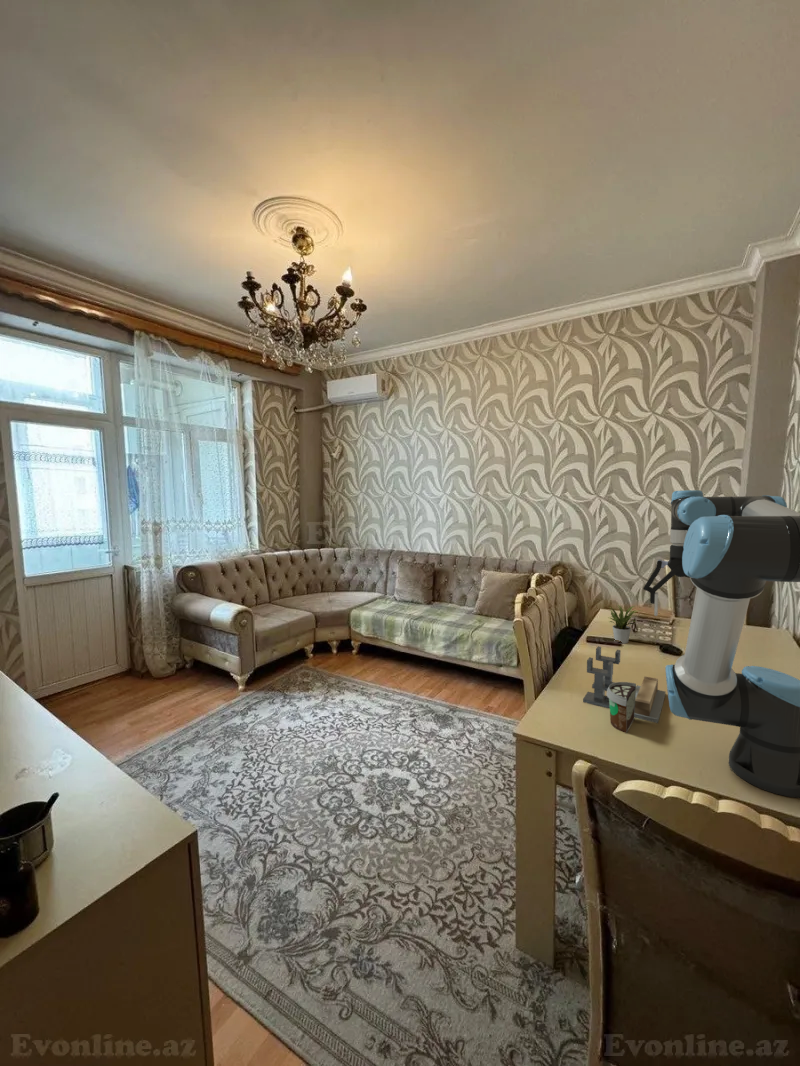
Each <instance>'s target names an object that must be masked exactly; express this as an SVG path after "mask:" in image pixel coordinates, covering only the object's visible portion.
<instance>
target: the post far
mask: <svg viewBox="0 0 800 1066" xmlns="http://www.w3.org/2000/svg"><path fill="white" fill-rule="evenodd" d="M614 654H615V655H614V657H610V656H605V655H602V646H599V645H598V646H596V648H595V661H599V662H602V669H603V670H608V663H609V661H611V662H613V665H620V663H621V650H620V649H616V651H615V652H614ZM612 683H616V682H615V681H613V676H612V677H606V676H605V692H607V689H608V687H609V685H610V684H612ZM591 688H592V689H594V682H593V683H592V685H591Z"/></svg>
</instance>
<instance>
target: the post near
mask: <svg viewBox="0 0 800 1066" xmlns="http://www.w3.org/2000/svg"><path fill="white" fill-rule="evenodd" d="M593 661H594V658H593V657H590V656H589V657H588V658H587V661H586V673H589V674H593V675H594V678H593V679H594V680H593V681H594V682H593V683H594V688H593V691H594V692H591V691H587V692H586V694H585V695H584V697H583V699H582V703H586V704H589V705H594V706H598V707H602V708H606V709H609V710H610V704H609V698H608V697H607V695H606V694H605V693H606V691H605V676H606V677H612V678H613V676H614V664H613V662H611V661H609V663H608V670H603V668H597V667H593V666H594V665H593V664H594V663H593Z"/></svg>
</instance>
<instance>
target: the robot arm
mask: <svg viewBox="0 0 800 1066" xmlns="http://www.w3.org/2000/svg"><path fill="white" fill-rule="evenodd" d="M670 505H671V506H670V509H671V510H670V511H671V513H670V532H669V533H670V534H669V537H670V539H669V543H671V545H670V546H669V559H668V560H667V561H666V560H662V559H658V560H657V562H656V567H655V569H654V570H653V572H652V573H651V574H650V576H649V578H648V580H647V582H645V585H644V586H643V591H647V592H649V593H650V594H649V596H650V597H649V598H650V600H649V602H650V603H649V604H653V605H654V608H653V610H654V611H653V613H654V614H653V615H654V616H656V617H658V614H659V613H658V612H659V610H658V609H659V592H657V591H658V590H659V589H660V588H661V587H662V586H664V585H665V584H666V583H667V582H668V581H670V579H672V578H673V577H674V576H676V577H679V578H689V580H690V582H691V583H692V584H693V586H694V587H696V591H695V596H694V602H693V605H692V606H693V607H692V612H691V618H690V623H689V624H690V625H689V628H688V634H687V639H686V645H685V646H686V647H685V652H684V654H683V655H681V656H679V657H678V658H677V659H676V661H675V663H674V664H667V665H665V679H666V680H665V681H666V689H667V698H668V705H669V709H670V712H671V713H672V714H673V715H674V716H676V717H680V718H684V719H688V720H690V721H692V720H693V721H699V722H700V721H701V722H706V723H713V724H719V725H720V724H721V725H726V726H733V727H737V728H738V727H739V734H738V736H737V737H736V739H735V741H734V744H733V745H732V747H731V748H730V751H729V754H728V766H729V768H730V769H731V771H732V772H733V773H734V774H736V776H737V777H739V778H741V779H742V780H743V781H745V782H746V783H748V784H750V785H752V786H754V787H756V788H759V789H761V790H764V791H765V792H769V793H772V794H776V795H778V796H779V795H780V796H785V797H789V798H796V799H797V798H799V799H800V679H798V678H796V677H794V676H792V675H790V674H787V673H785V672H781V671H779V670H775V669H773V668H769V667H768V668H767V667H763V666H759V665H758V666H757V665H750V666H748V665H746V666H744V667H743V669H741V673H739V672H735V670H733V664H734V661H735V658H736V653H737V649H738V646H739V642H740V638H741V634H742V631H743V627H744V624H745V620H746V616H747V612H748V608H749V604H750V601H751V599H753V598H754V599H755V598H757V597H758V596H760V594H762V592H764V590H765V586H766V583H767V582H777V583H778V582H782V583H800V512H798V511H797V510H793V509H791V508H789V507H788V505H787V502H786V500H785V499H784V497H782V496H780V495H779V496H778V495H756V496H755V495H752V496H751V495H750V496H704V492H703V490H698V489H697V490H694V489H692V490H690V489H689V490H688V489H687V490H685V489H684V490H675V491H673V492H672V494H671V500H670ZM666 566H667V567H668V568H669V569H670V571H669V572H668V573H667V574H666V575H665V576H663V578H661V579H660V580H659V581H658V582H657V583H656V584H655V585H653V586H652V587H651V585H652V584H653V583H654V581H655V579H656V578H657V576H658V574H659V573H660V571H661V570H662V569H664V568H665V567H666Z"/></svg>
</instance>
